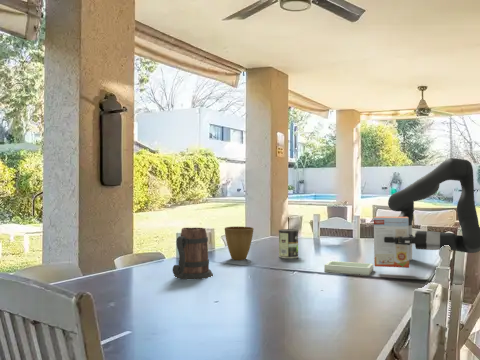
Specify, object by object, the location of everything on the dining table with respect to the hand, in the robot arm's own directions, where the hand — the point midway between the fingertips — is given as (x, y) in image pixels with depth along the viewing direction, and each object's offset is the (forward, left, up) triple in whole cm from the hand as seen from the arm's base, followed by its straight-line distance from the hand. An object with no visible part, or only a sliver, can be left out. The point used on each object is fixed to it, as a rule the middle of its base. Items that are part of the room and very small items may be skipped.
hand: (385, 238), depth 196 cm
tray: (0, -16, -15) cm, 22 cm away
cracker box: (0, +2, -12) cm, 12 cm away
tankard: (+38, -74, -15) cm, 84 cm away
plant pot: (-10, -74, -15) cm, 76 cm away
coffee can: (-26, -53, -15) cm, 60 cm away
